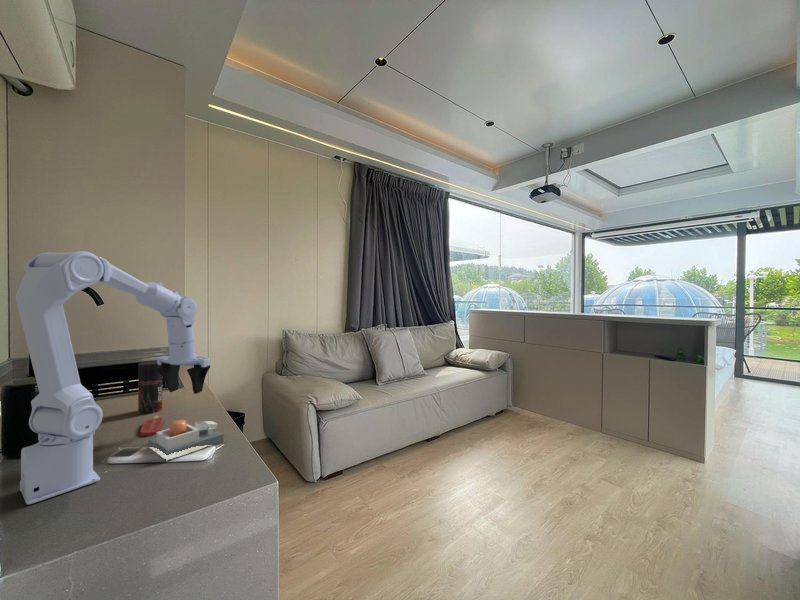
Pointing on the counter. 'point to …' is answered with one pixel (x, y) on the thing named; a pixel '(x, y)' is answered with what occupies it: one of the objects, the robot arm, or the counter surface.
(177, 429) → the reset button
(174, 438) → the breaker panel
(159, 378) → the deodorant
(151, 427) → the popsicle
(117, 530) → the counter surface
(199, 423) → the rocker
